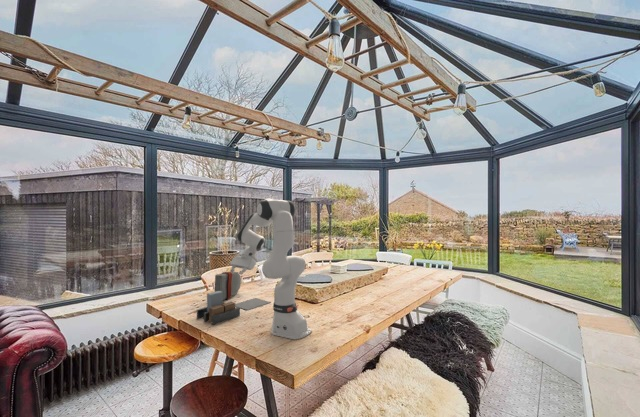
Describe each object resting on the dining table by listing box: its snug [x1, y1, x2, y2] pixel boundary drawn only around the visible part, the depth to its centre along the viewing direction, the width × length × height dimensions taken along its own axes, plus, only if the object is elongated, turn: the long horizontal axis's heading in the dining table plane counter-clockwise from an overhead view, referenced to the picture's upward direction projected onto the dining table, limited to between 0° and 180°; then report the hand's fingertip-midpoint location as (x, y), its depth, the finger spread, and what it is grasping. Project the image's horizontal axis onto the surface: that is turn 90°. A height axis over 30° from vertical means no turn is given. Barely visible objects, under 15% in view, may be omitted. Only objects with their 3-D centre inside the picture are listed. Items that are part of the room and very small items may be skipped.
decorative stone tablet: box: [213, 270, 242, 301], centre depth 214 cm, size 19×6×30 cm
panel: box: [206, 291, 224, 312], centre depth 178 cm, size 4×8×14 cm, turn 142°
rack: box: [196, 302, 241, 326], centre depth 175 cm, size 17×18×5 cm
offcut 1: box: [208, 305, 224, 324], centre depth 170 cm, size 4×7×8 cm, turn 142°
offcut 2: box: [221, 301, 236, 312], centre depth 176 cm, size 4×7×8 cm, turn 142°
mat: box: [235, 297, 272, 311], centre depth 200 cm, size 16×20×1 cm
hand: (235, 272), depth 189 cm, fingers open, 8 cm apart
